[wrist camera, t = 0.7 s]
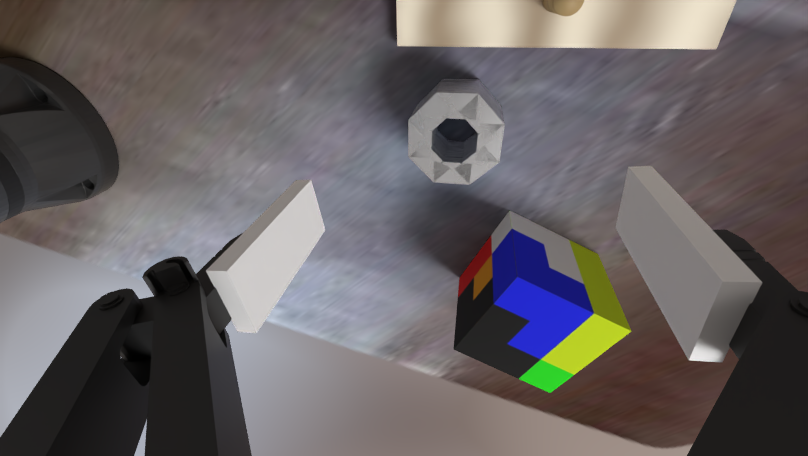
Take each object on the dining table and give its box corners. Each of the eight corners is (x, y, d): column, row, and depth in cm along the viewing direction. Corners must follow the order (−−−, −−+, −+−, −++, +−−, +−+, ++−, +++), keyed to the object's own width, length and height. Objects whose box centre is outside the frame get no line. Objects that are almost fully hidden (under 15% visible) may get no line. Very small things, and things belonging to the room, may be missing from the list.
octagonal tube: (417, 157, 34) (408, 180, 30) (418, 77, 30) (408, 91, 26) (494, 162, 33) (495, 186, 29) (505, 80, 29) (508, 94, 25)
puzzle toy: (509, 209, 35) (517, 276, 27) (597, 253, 36) (631, 331, 28) (459, 277, 41) (453, 349, 33) (537, 313, 42) (550, 393, 34)
